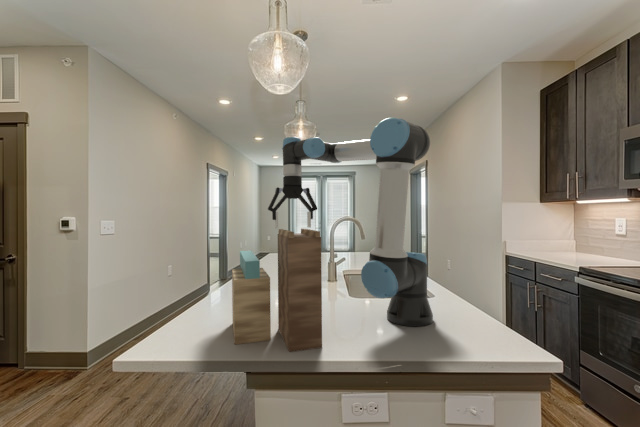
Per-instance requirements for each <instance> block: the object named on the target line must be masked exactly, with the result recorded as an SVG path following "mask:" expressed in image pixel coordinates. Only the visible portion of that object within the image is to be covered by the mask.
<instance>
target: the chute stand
mask: <svg viewBox="0 0 640 427" xmlns="http://www.w3.org/2000/svg"><path fill="white" fill-rule="evenodd" d="M322 281H323V280H322V236H321V231H319V230H315V229H309V228H300V232H297V233H295V232H294V231H291V230H288V229H283V228H278V234H277V297H278V298H277V299H278V301H277V304H278V305H277V310H278V311H277V314H278V318H277V322H278V323H277V324H278V332H279V333H280V336H281V338H282V340H283V342H284V344H285V346H286V349H287V350H288V352H289V353H293V352H300V351H307V350H314V349H315V350H316V349H322V348H323V312H322V311H323V308H322V307H323V306H322V305H323V301H322V299H323V296H322V291H323V290H322V286H323V284H322V283H323V282H322Z"/></svg>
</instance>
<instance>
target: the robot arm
mask: <svg viewBox="0 0 640 427" xmlns="http://www.w3.org/2000/svg"><path fill="white" fill-rule="evenodd" d="M430 146H431V139H430V135H429V133H428V132H427V130H425V129H424V127H422V126H419V125H416V124H414V123H411V122H410V121H407V120H405V119H403V118H397V117H388V118H384V119H383V120H381V121H379V123H378V124H377V125H376V126H374V128H373V130H372V132H371V133H370V138H368V139H361V140H360V139H359V140H350V141H344V142H343V141H342V142H334V143H333V142H332V143H331V142H326V141H324V140H323V139H321V138H320V137H317V136H316V137H308V138H307V139H302V140H301V138H300V137H297V136H290V137H285V138H284V139H283V141H282V147H281V149H282V169H283V170H282V175H283V178H282V180H283V182H282V183H283V184H282V188H280V187H278V186H277V187H276V188H275V192H274V195H273V197H272V199H271V201H270V203H269V206H268V207H267V211H269V212H271V213H272V220H273V221H274V228H275V229H279V212H278V209H279V208H280V207H281V206H282V204H283V203H284V202H285V201H286V200H287V199H289V200H291V199H294V200H297V199H298V200H299V201H300V202H301V203H302V204H303V205H304V207H305V208H306V209H307V210H308V211H307V212H306V217H307V218H306V220H307V221H306V222H307V223H306V225H307V228H308V229H309V228H312V220H313V219H314V212H315V211H317V210H318V206H317V205H316V203H315V201H314V199H313V196H312V194H311V192H310V191H311V190H310V188H309V187H305V188H303V186H302V184H303V183H302V182H303V181H302V180H303V178H302V161H303V160H315V161H322V162H328V163H331V164H332V163H334V164H339V163H342V162H352V161H369V160H370V161H371V160H373V161H374V160H375V165H376V166H377V167H378V169H379V172H380V173H379V182H378V184H379V185H378V186H379V187H378V197H377V198H378V200H377V201H378V202H377V212H376V213H377V214H376V229H375V244H374V247H373V248H372V249H371V250H370V251H369V258H368V259H369V260H368V261H367V262H366V263H365V264H364V265H363V266H362V268H361V272H360V276H361V277H360V278H361V282H362V285H363V287H364V288H365V289H366V291H367V292H368V293H369V294H370V295H371V296H372V297H375V298H378V299H388V298H390V300H389V304H388V306H387V309H386V318H387V320H388V321H389V322H392V323H393V324H396V325H400V326H406V327H423V326H424V327H425V326H429V325H431V324H432V323H433V320H434V319H433V318H434V315H433V311H432V307H431V305H430V302H429V299H428V260H427V255H426V254H425V253H421V252H411V251H406V250H404V245H405V244H404V242H405V229H406V227H405V226H406V216H407V204H408V193H409V192H408V191H409V190H408V189H409V180H410V178H409V177H410V171H411V169H413V168H414V167H415V166H416V162H417V161H420V160H422V159H423V158H424V157H425V156H426V155H427V153H428V152H429V150H430ZM281 193H283V196H282V197H281V199H280V200H278V202H277V204H276V205H275V203H276V201H277V199H278V197H279V195H280V194H281ZM302 193H304V194H305V196H306V197H307V199H308V201H309V203H308V201H307V200H306V198H304V197H303V195H302ZM274 205H275V206H274Z"/></svg>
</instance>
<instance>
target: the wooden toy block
mask: <svg viewBox="0 0 640 427" xmlns="http://www.w3.org/2000/svg"><path fill="white" fill-rule="evenodd" d="M231 286H232V287H231V288H232V290H231V292H232V296H231V297H232V298H231V299H232V300H231V301H232V302H231V304H232V331H233V340H234V345H243V344H244V345H245V344H249V343H250V344H251V343H257V342H258V343H260V342H266V341H271V340H272V339H271V336H272V334H271V331H272V330H271V321H272V320H271V277H270V276H269V274H268V273H267V271H265V269H264V267H260V278H256V279H245V277H244V274H243V271H242V269H241V268H232V269H231Z"/></svg>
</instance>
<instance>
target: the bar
mask: <svg viewBox="0 0 640 427" xmlns="http://www.w3.org/2000/svg"><path fill="white" fill-rule="evenodd" d="M260 263H261V261H260V260H259V258H258V257H257V255H255V253H254V252H253V251H252V250H239V266H240V269H242V271H243V274H244V277H245V279H256V278H260V268H261V266H260V265H261V264H260Z"/></svg>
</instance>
